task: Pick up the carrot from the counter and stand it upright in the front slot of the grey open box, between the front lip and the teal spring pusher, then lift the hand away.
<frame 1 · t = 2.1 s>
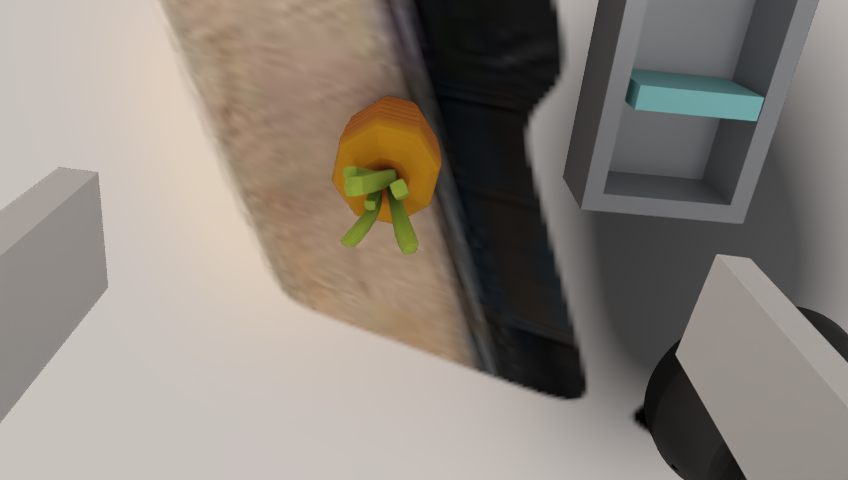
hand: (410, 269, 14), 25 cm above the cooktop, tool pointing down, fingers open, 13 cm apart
grey open box: (671, 41, 36), on the cooktop
carrot: (395, 111, 38), on the cooktop
pusher: (683, 93, 34), point 3 cm above the cooktop, slide at 0.0 cm
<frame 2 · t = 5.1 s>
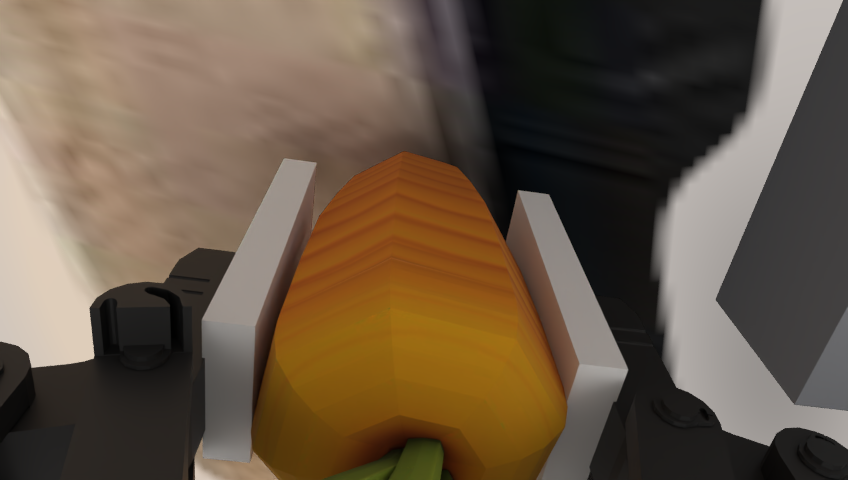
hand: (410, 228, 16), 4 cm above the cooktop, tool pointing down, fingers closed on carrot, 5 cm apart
carrot: (411, 168, 19), on the cooktop, touching gripper
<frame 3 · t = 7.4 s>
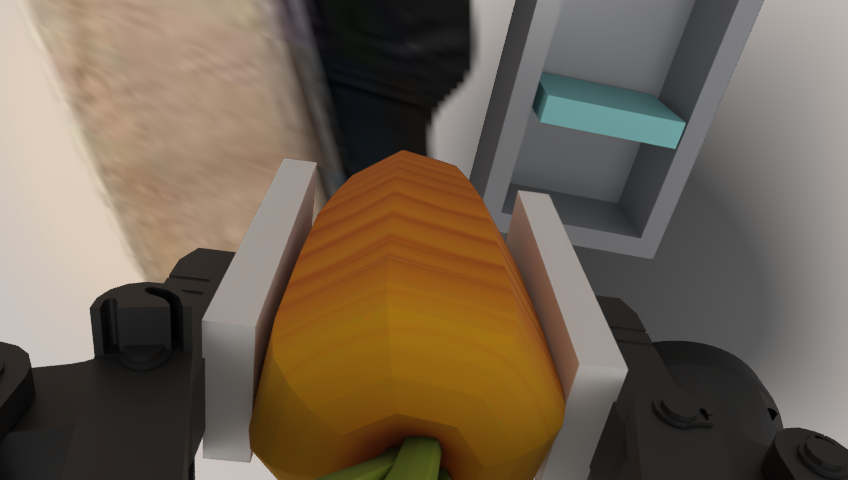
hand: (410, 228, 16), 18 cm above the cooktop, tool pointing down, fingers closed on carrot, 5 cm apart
grey open box: (596, 46, 32), on the cooktop
carrot: (410, 168, 19), point 15 cm above the cooktop, touching gripper
pusher: (600, 107, 30), point 3 cm above the cooktop, slide at 0.0 cm
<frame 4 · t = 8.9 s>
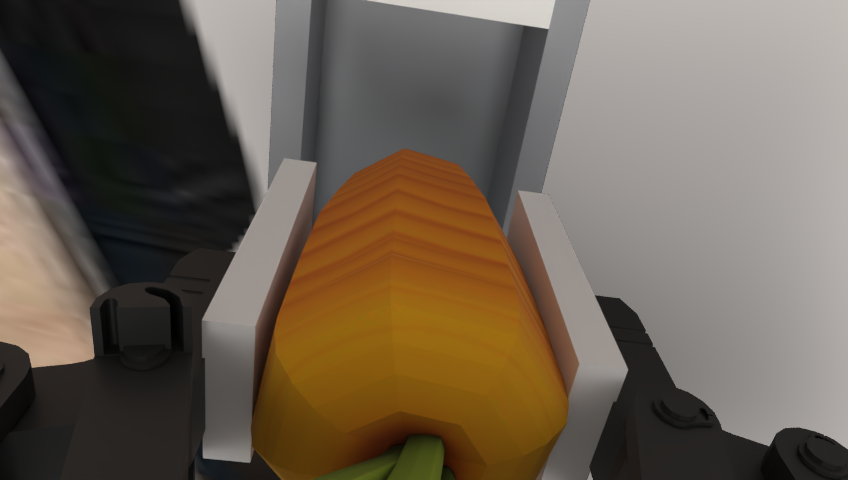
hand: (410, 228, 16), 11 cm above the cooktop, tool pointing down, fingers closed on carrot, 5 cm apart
grey open box: (400, 182, 27), on the cooktop
carrot: (411, 166, 19), point 7 cm above the cooktop, touching gripper
when the fingers open (7 cm above the cooktop, at t = 9.9 s): carrot drops 2 cm, resting on grey open box.
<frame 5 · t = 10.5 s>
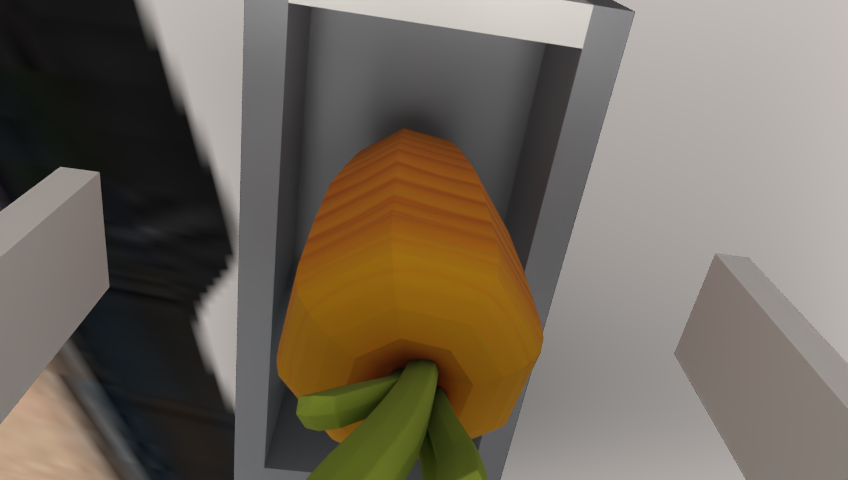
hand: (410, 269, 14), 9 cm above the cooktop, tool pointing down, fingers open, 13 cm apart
grey open box: (400, 218, 23), on the cooktop
carrot: (411, 146, 21), point 1 cm above the cooktop, touching grey open box
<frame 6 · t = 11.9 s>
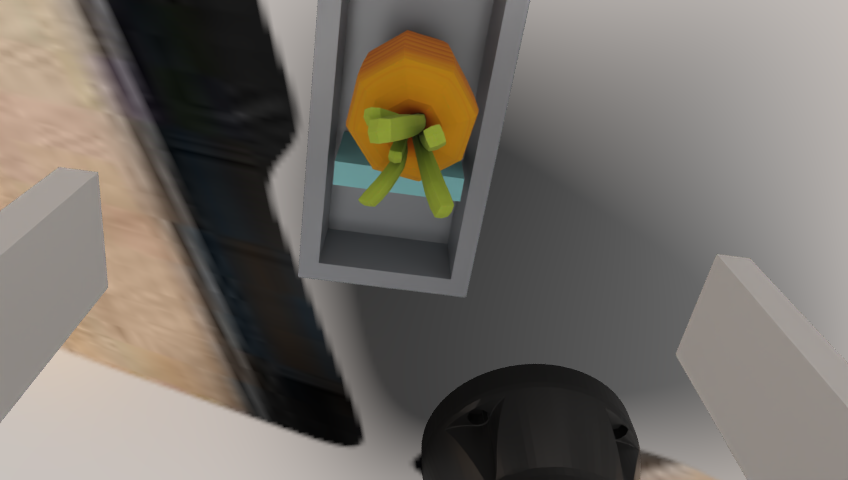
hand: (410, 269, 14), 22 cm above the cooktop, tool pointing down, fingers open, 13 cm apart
grey open box: (406, 105, 35), on the cooktop
carrot: (413, 52, 33), point 1 cm above the cooktop, touching grey open box
pusher: (399, 164, 33), point 3 cm above the cooktop, slide at 0.0 cm
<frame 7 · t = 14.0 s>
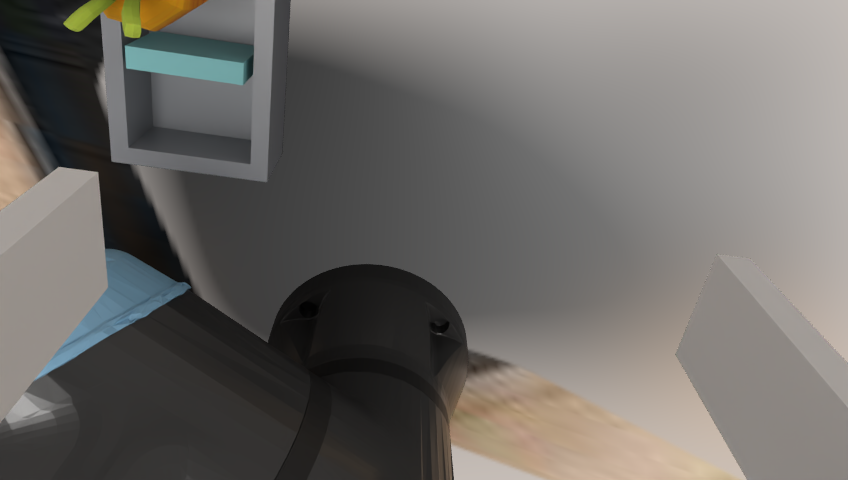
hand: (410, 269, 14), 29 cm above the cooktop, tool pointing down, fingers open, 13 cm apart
grey open box: (213, 9, 39), on the cooktop
pusher: (197, 57, 37), point 3 cm above the cooktop, slide at 0.0 cm
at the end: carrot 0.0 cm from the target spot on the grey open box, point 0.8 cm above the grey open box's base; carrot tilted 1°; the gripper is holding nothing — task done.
